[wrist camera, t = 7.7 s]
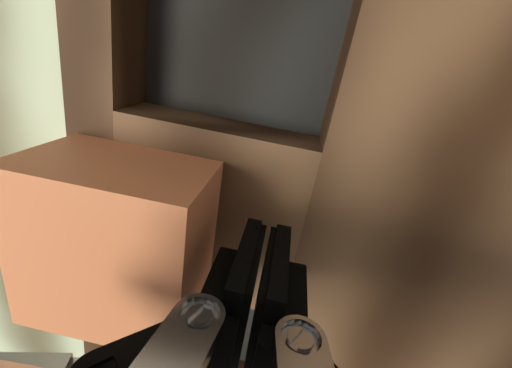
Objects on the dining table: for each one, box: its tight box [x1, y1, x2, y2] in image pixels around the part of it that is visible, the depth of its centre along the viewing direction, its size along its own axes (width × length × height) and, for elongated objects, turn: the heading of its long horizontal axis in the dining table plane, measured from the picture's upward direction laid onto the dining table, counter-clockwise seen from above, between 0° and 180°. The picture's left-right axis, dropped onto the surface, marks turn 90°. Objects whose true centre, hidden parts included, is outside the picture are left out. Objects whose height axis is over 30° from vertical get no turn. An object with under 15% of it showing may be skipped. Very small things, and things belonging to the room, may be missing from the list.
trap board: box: [0, 0, 512, 368], centre depth 14 cm, size 27×24×3 cm
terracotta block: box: [0, 133, 224, 346], centre depth 11 cm, size 6×6×4 cm
